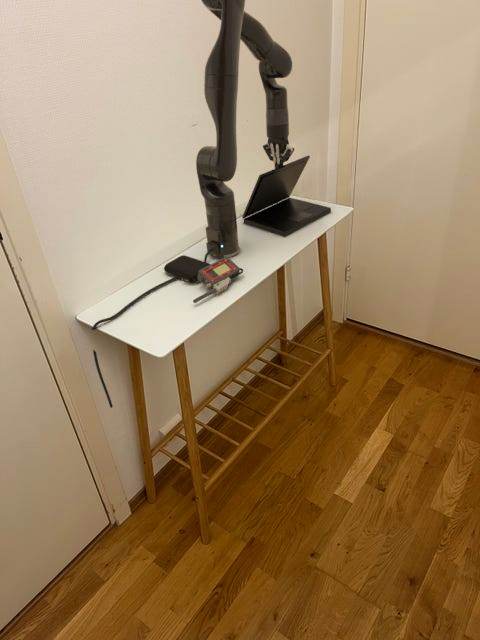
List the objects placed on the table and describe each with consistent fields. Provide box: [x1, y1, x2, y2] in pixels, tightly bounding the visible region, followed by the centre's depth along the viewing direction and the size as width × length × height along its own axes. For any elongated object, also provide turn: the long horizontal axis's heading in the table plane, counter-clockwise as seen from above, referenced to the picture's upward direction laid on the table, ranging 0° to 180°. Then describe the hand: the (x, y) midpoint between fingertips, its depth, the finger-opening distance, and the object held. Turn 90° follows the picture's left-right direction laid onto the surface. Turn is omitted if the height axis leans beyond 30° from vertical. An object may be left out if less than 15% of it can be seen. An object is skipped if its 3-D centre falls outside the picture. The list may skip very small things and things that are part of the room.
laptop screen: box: [241, 155, 311, 220], centre depth 164 cm, size 20×26×1 cm
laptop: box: [243, 197, 332, 238], centre depth 166 cm, size 20×26×2 cm
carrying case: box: [163, 255, 211, 284], centre depth 137 cm, size 11×3×15 cm
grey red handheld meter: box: [192, 257, 244, 304], centre depth 128 cm, size 9×4×20 cm
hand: (279, 173), depth 160 cm, fingers closed
